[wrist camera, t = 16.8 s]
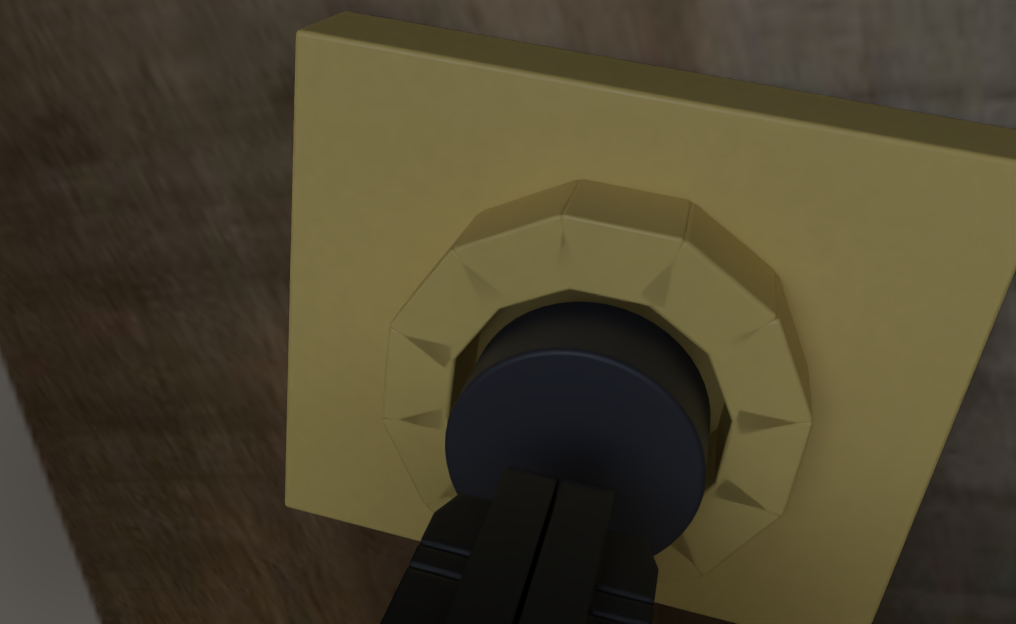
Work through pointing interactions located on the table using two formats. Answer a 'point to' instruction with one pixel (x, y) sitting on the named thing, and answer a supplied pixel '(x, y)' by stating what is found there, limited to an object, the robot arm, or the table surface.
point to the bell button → (588, 415)
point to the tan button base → (642, 286)
